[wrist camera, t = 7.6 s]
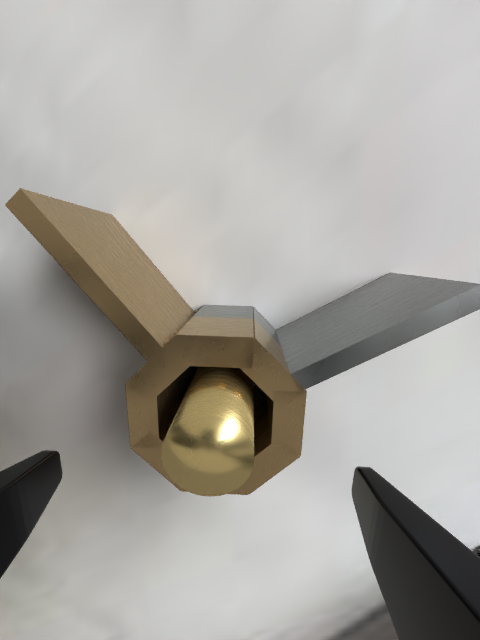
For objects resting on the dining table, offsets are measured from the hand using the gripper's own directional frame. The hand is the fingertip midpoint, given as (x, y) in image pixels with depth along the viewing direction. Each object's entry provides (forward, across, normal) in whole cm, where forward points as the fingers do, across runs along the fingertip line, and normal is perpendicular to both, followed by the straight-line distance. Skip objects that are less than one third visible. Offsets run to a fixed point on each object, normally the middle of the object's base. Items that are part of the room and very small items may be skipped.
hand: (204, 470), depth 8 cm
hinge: (+9, -1, -2) cm, 9 cm away
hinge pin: (+8, 0, 0) cm, 8 cm away
